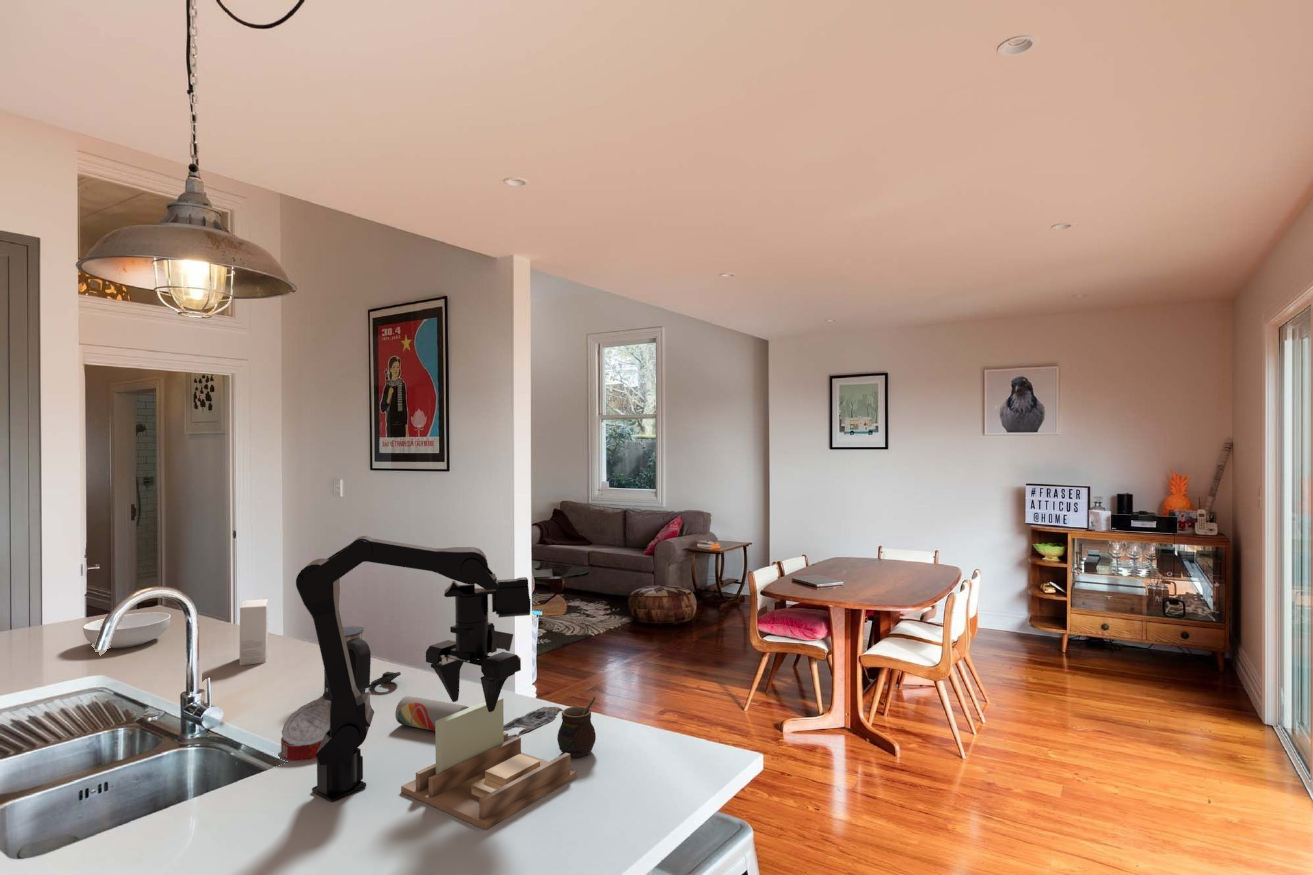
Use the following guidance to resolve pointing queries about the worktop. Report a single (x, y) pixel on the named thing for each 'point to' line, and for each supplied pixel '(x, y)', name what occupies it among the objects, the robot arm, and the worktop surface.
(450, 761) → the green sheet
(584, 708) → the mate gourd
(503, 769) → the oak offcut
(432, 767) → the walnut rack
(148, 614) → the serving bowl
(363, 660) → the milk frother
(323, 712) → the canned food
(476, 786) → the pine offcut
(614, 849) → the worktop surface
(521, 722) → the driftwood
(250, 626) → the skincare box
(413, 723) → the lotion bottle
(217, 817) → the worktop surface
